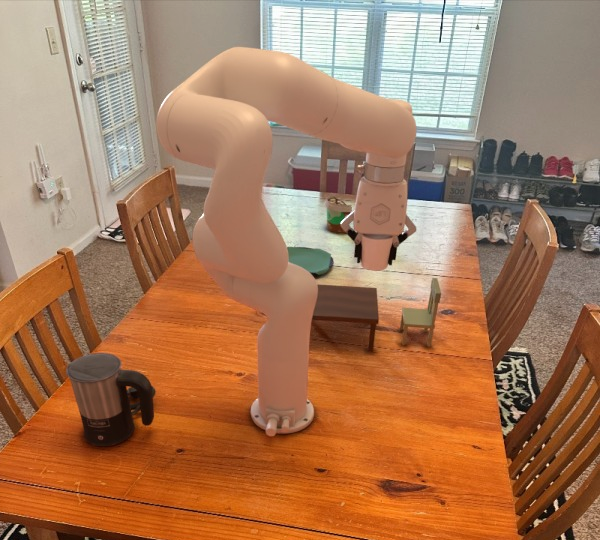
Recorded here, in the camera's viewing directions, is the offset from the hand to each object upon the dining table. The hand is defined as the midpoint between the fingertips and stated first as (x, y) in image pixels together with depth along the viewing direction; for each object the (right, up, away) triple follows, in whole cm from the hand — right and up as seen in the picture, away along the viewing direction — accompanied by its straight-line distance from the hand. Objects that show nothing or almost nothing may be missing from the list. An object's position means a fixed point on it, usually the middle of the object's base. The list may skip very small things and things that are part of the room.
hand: (374, 261), depth 119 cm
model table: (-7, -13, +20) cm, 25 cm away
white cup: (0, -1, +1) cm, 1 cm away
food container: (-4, +29, +76) cm, 81 cm away
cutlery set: (-21, +11, +52) cm, 57 cm away
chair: (+12, -14, +19) cm, 26 cm away
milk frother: (-50, -33, -8) cm, 61 cm away
